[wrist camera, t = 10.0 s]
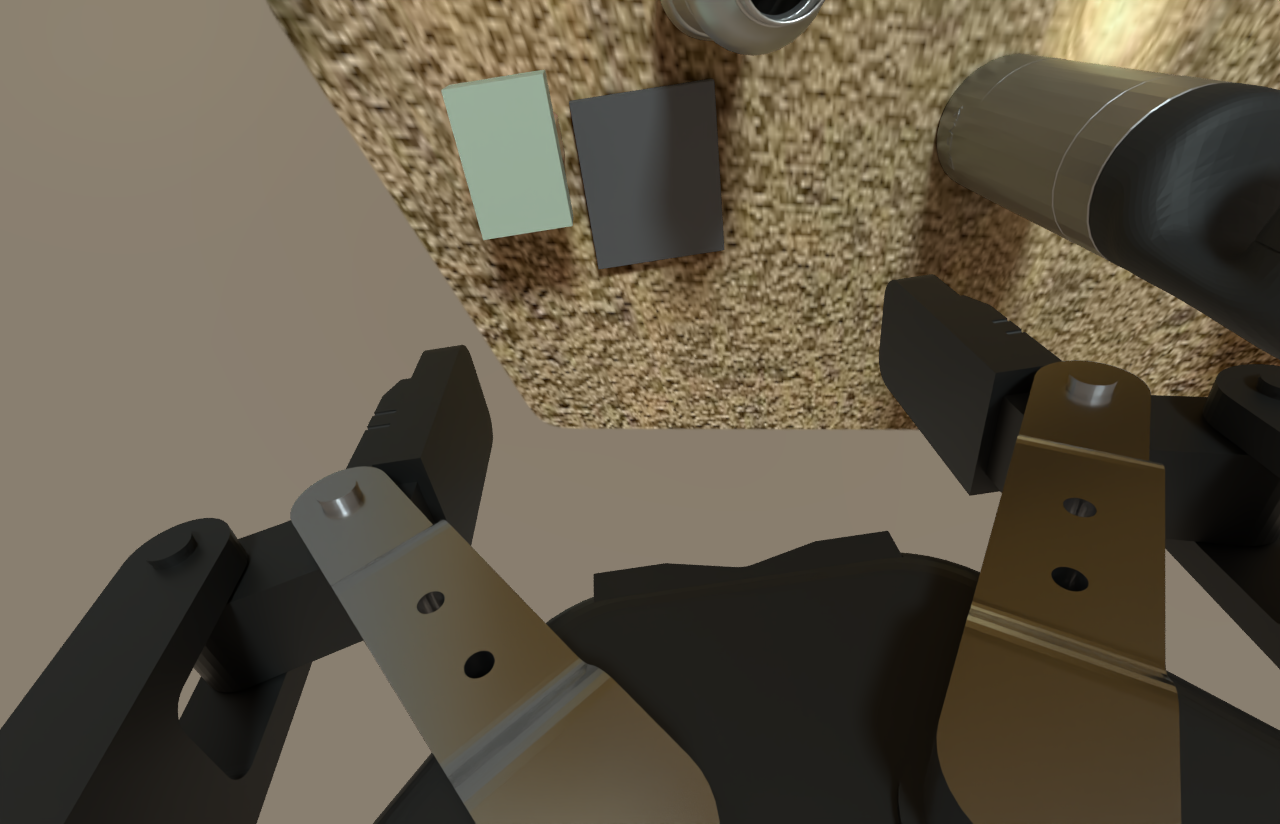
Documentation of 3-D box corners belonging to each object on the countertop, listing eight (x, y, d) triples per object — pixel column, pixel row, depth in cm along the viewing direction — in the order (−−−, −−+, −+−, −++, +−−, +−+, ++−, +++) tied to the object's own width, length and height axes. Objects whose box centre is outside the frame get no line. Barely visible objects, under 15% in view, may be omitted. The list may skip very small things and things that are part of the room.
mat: (711, 78, 44) (714, 80, 43) (722, 245, 50) (724, 250, 50) (569, 100, 44) (569, 103, 43) (598, 264, 51) (598, 269, 50)
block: (544, 69, 39) (542, 73, 37) (573, 214, 44) (572, 225, 42) (449, 85, 39) (441, 90, 37) (488, 228, 44) (483, 239, 42)
